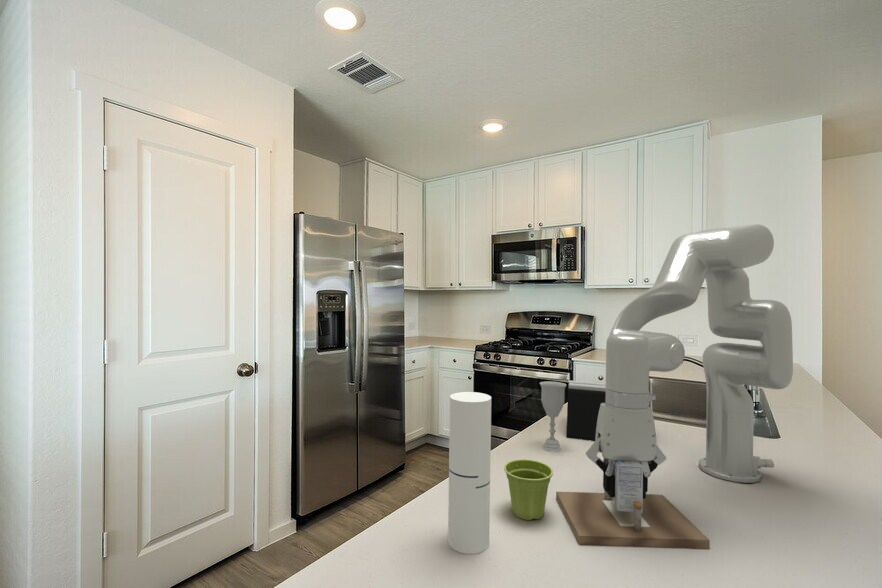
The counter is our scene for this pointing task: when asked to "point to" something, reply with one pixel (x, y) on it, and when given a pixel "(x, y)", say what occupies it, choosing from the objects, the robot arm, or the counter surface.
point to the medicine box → (628, 485)
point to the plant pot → (528, 487)
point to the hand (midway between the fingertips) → (624, 493)
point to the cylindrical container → (469, 472)
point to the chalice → (552, 409)
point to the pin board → (629, 522)
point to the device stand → (584, 409)
